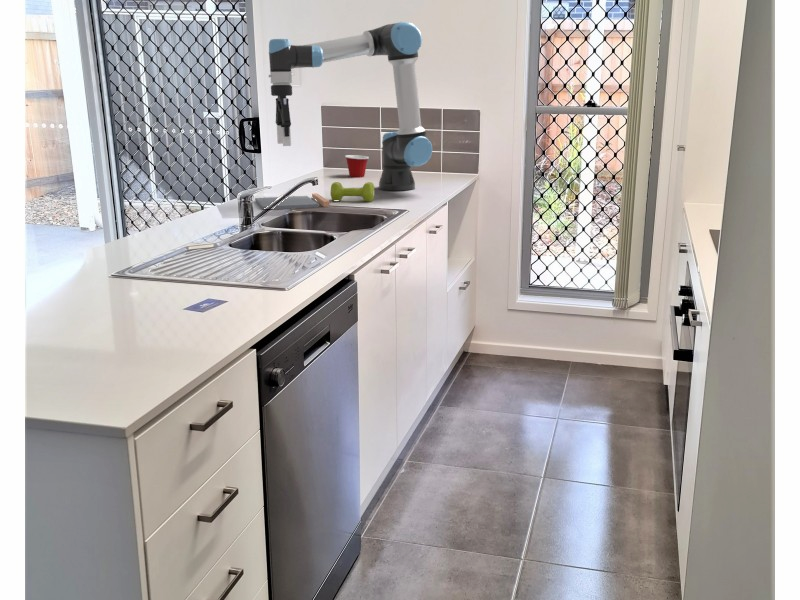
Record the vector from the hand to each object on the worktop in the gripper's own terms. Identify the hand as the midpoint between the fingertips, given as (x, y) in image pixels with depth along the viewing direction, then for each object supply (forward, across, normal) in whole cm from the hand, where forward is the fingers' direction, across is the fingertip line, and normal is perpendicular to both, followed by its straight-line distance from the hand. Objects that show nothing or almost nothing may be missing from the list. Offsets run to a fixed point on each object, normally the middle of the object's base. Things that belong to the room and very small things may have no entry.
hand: (284, 144), depth 286 cm
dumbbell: (+22, 0, +25) cm, 34 cm away
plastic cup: (+22, -61, +42) cm, 77 cm away
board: (+22, 0, 0) cm, 22 cm away
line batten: (+22, 0, +13) cm, 25 cm away
